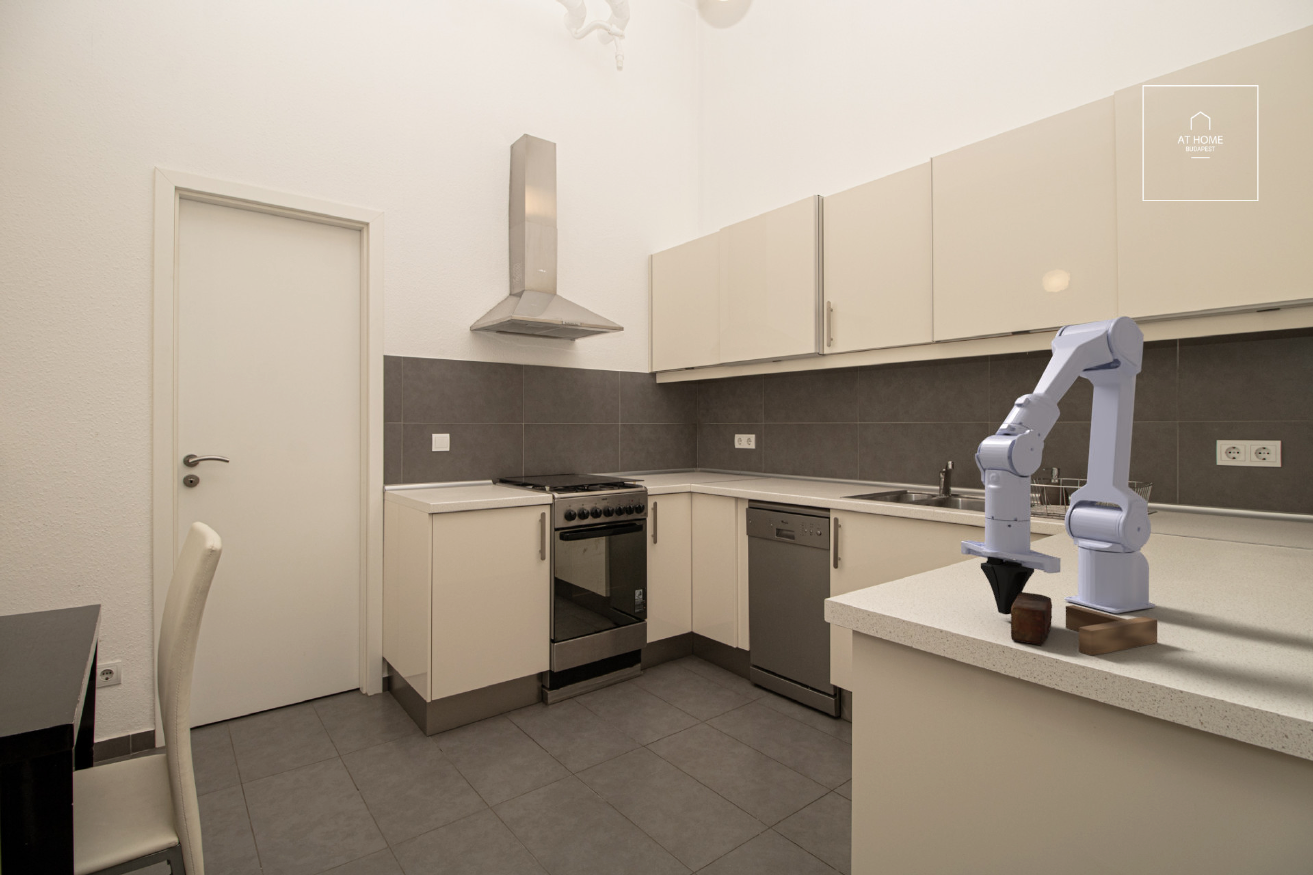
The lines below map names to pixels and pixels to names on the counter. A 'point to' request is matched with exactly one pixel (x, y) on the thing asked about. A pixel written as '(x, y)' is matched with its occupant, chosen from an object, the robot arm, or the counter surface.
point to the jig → (1109, 630)
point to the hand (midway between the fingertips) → (1006, 612)
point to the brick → (1031, 618)
